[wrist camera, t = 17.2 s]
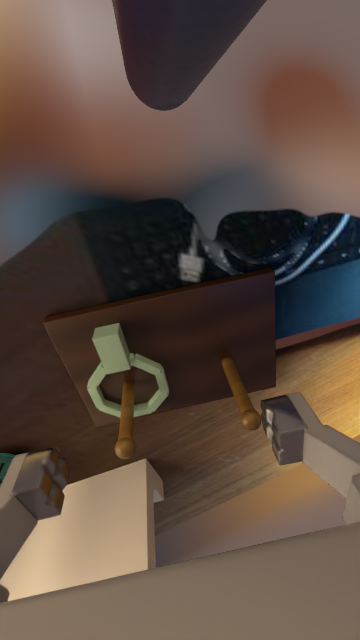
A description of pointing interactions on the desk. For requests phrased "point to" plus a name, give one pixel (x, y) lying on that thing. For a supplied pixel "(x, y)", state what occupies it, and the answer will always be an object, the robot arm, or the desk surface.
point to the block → (91, 534)
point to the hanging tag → (120, 359)
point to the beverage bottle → (4, 464)
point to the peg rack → (178, 348)
